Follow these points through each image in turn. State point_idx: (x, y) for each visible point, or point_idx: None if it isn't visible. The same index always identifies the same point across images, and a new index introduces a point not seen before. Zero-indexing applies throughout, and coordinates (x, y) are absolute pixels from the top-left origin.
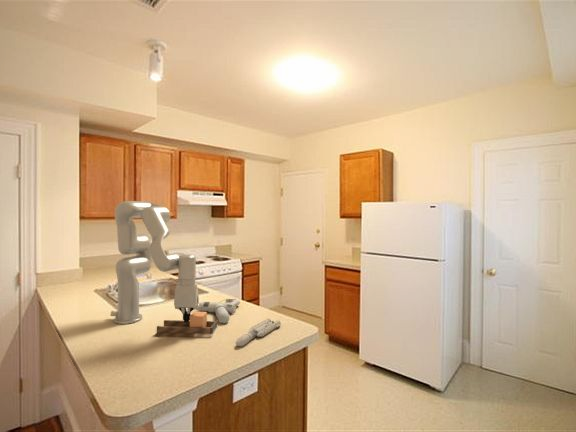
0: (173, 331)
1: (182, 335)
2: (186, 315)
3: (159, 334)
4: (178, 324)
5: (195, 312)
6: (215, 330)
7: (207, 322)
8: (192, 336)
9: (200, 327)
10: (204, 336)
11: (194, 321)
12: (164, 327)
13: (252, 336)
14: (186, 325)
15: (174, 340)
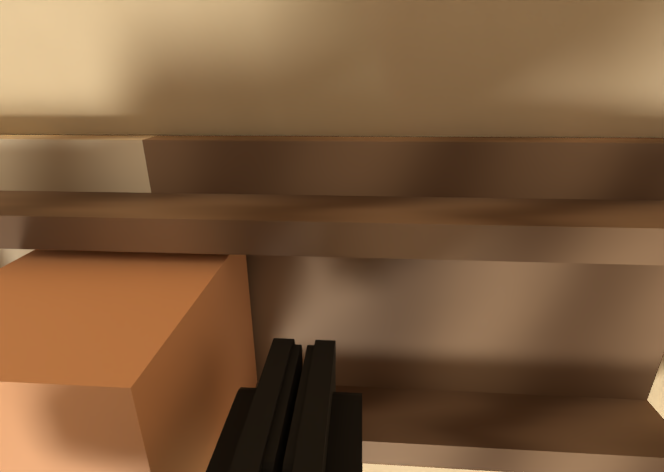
0: (464, 202)
1: (310, 140)
2: (255, 440)
3: (661, 141)
4: (458, 409)
5: None
6: None
7: None
8: (176, 136)
9: (42, 236)
10: (18, 135)
11: (97, 307)
12: (646, 224)
13: None
14: None
15: (383, 9)
